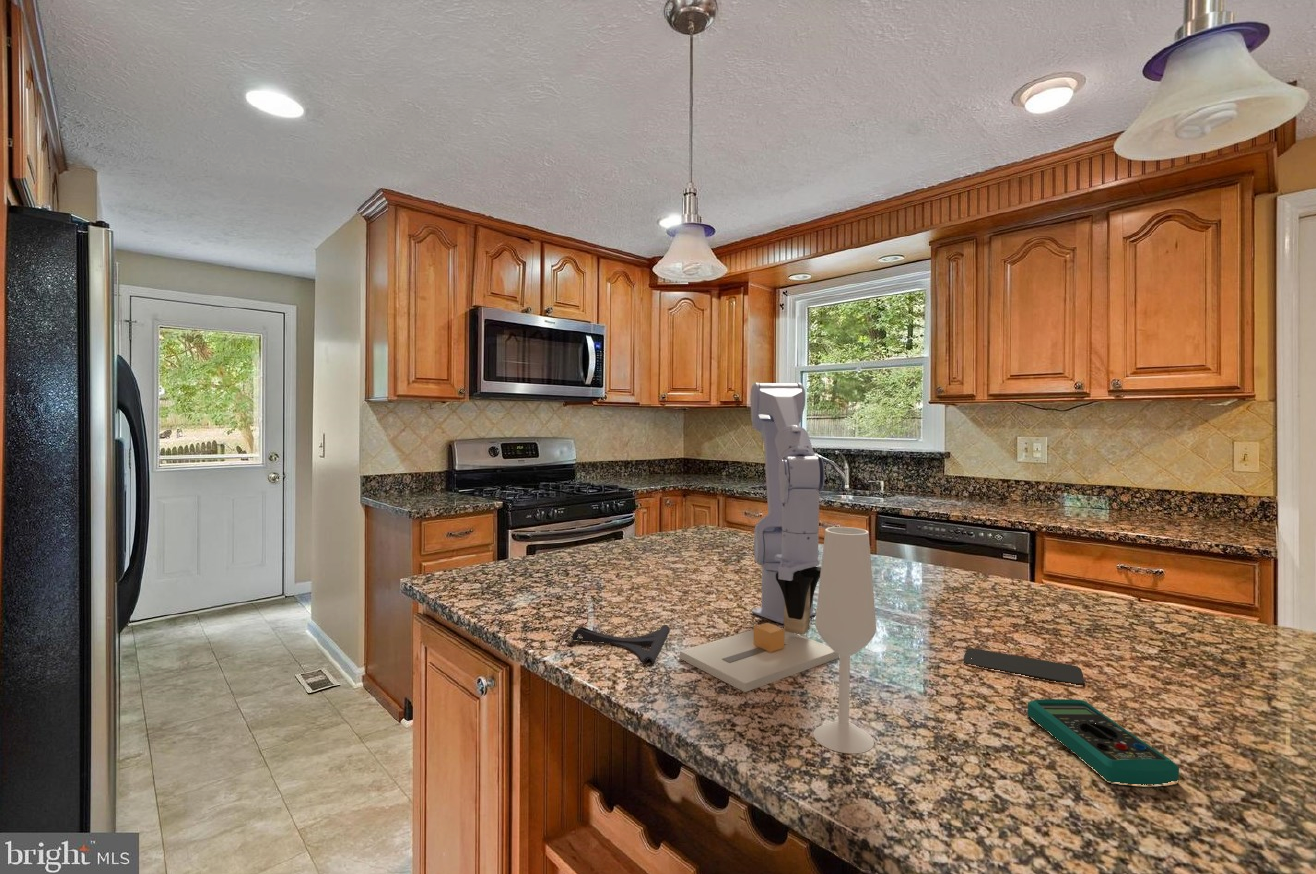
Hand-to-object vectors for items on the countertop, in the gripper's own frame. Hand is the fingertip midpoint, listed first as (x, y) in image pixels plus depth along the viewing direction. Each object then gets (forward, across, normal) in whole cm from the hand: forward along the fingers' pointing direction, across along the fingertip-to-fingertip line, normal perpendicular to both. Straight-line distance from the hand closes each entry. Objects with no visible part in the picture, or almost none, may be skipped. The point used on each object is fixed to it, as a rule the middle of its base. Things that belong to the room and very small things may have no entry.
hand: (799, 614), depth 99 cm
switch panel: (+5, +8, -3) cm, 10 cm away
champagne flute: (+5, +25, +13) cm, 29 cm away
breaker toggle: (+4, +6, -3) cm, 8 cm away
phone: (+6, -9, +31) cm, 33 cm away
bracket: (+6, +14, -26) cm, 30 cm away
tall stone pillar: (+2, 0, 0) cm, 3 cm away
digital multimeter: (+6, +12, +38) cm, 40 cm away
